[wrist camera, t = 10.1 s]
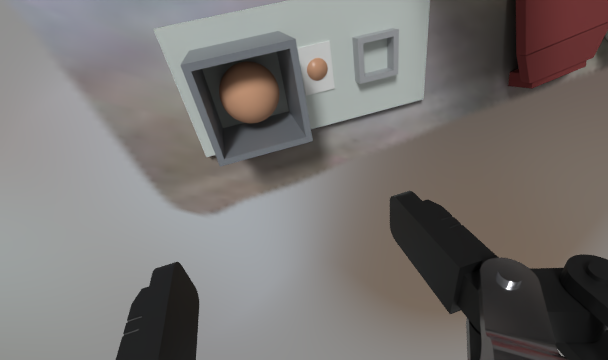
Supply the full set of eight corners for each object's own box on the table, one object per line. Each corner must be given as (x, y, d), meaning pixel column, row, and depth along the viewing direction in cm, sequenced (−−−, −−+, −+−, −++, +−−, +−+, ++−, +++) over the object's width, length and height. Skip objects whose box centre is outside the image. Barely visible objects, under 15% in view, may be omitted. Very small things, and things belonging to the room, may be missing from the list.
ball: (235, 44, 29) (239, 53, 24) (284, 77, 32) (296, 91, 27) (209, 95, 31) (207, 113, 26) (257, 121, 34) (263, 142, 29)
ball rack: (206, 153, 35) (203, 193, 28) (155, 28, 28) (132, 37, 20) (419, 97, 39) (466, 119, 31) (426, -29, 31) (491, -39, 24)
